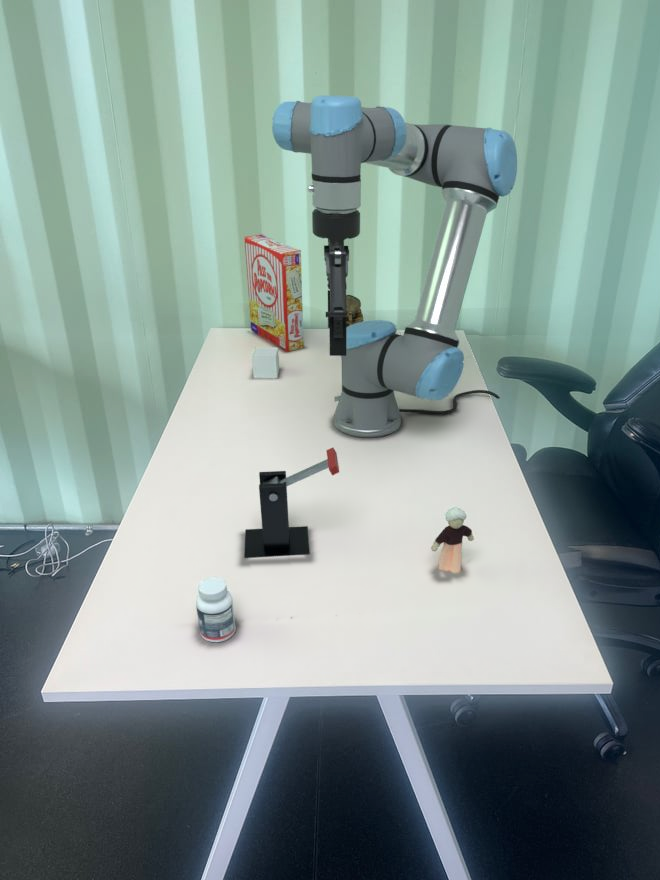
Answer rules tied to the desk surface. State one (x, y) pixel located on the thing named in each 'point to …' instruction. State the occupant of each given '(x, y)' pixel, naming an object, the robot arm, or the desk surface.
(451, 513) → the grandmother figurine
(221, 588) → the pill bottle
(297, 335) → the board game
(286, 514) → the bracket
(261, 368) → the pale blue cube
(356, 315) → the bronze figurine
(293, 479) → the lever
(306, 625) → the desk surface
